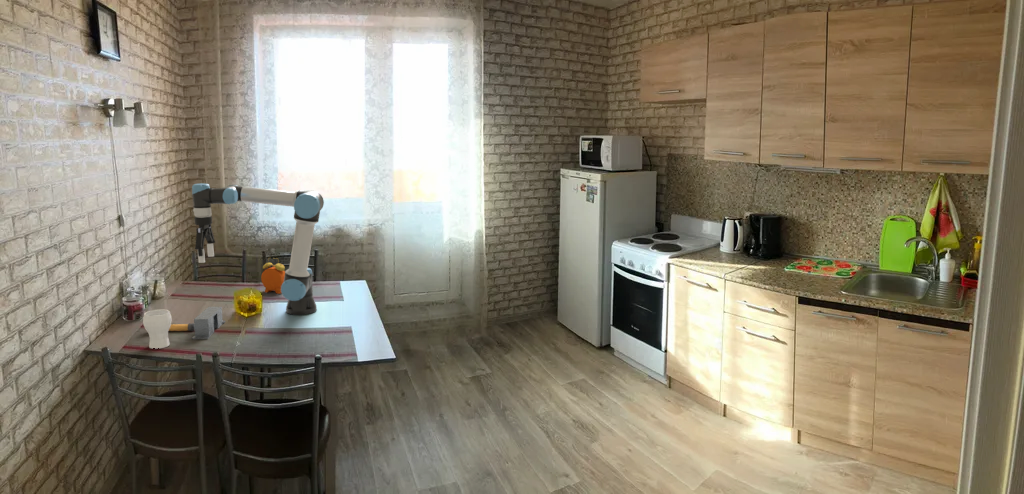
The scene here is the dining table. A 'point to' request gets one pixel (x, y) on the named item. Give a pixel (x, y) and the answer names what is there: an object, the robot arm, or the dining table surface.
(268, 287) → the alarm clock
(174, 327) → the hammer
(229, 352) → the dining table surface
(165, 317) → the cup
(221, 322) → the housing
